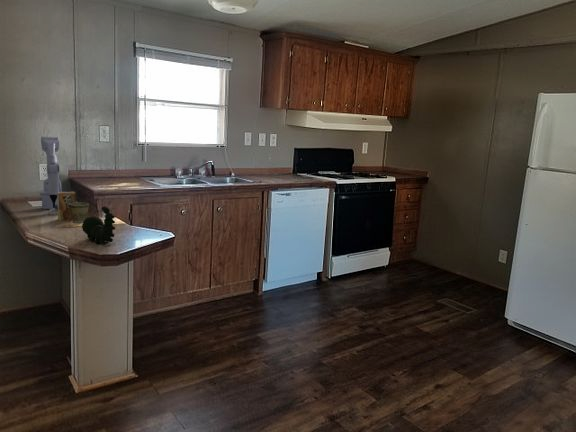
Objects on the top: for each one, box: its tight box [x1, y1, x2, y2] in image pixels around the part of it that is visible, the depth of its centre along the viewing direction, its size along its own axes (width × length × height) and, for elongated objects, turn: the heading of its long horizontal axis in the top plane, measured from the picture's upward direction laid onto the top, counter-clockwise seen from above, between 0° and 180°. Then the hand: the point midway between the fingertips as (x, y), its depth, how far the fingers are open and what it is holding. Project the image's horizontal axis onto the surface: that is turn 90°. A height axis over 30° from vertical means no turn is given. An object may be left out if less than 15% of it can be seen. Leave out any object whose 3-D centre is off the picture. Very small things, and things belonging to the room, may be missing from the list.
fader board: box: [49, 209, 58, 216], centre depth 278 cm, size 20×8×2 cm, turn 117°
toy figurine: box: [81, 206, 116, 244], centre depth 217 cm, size 9×19×25 cm
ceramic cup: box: [69, 201, 90, 224], centre depth 256 cm, size 13×10×10 cm
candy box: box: [57, 191, 77, 222], centre depth 258 cm, size 9×4×15 cm, turn 129°
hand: (54, 207), depth 274 cm, fingers closed, pressing on fader knob
